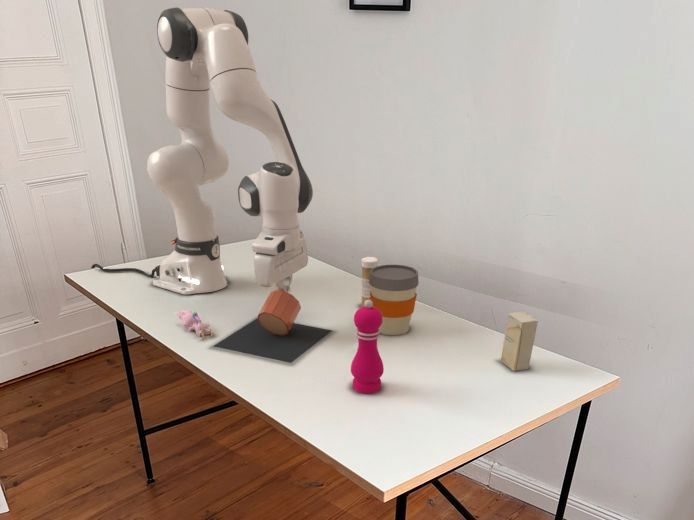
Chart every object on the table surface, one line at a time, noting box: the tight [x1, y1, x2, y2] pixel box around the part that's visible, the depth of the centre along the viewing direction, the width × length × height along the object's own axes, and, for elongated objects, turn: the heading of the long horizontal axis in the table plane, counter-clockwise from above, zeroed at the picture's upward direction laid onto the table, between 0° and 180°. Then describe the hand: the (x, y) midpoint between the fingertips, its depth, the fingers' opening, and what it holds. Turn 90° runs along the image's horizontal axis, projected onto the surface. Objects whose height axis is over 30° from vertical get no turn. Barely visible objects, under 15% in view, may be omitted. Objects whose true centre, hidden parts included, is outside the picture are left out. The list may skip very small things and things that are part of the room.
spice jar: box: [360, 256, 379, 307], centre depth 189 cm, size 5×5×13 cm
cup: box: [256, 289, 302, 336], centre depth 172 cm, size 8×8×8 cm
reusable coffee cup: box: [369, 264, 419, 336], centre depth 176 cm, size 13×13×15 cm
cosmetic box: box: [500, 310, 539, 372], centre depth 159 cm, size 6×4×12 cm
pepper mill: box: [350, 300, 385, 394], centre depth 146 cm, size 7×7×20 cm
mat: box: [213, 318, 333, 364], centre depth 173 cm, size 22×22×1 cm
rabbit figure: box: [175, 309, 215, 340], centre depth 176 cm, size 6×6×15 cm
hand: (284, 293), depth 172 cm, fingers closed
